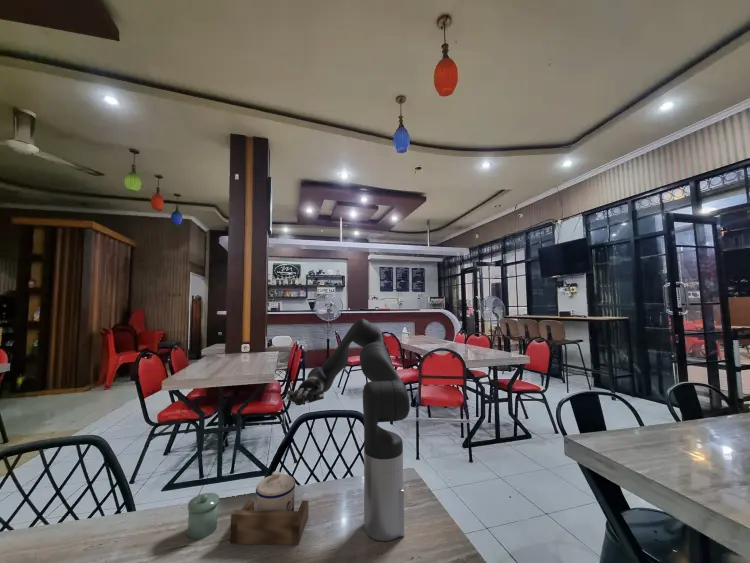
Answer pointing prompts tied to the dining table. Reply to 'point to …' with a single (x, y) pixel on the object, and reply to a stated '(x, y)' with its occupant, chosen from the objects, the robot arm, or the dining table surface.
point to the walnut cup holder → (268, 525)
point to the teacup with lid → (276, 493)
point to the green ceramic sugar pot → (202, 515)
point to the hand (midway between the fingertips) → (298, 402)
